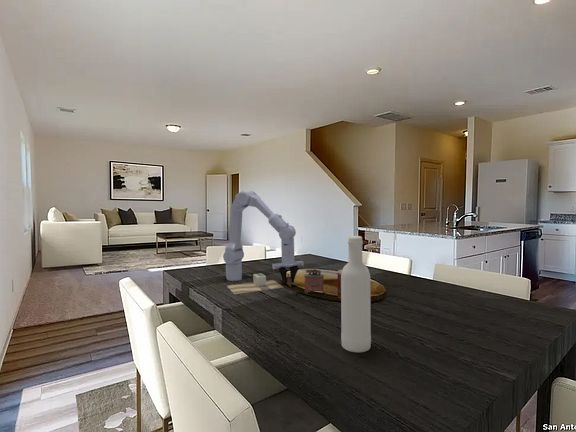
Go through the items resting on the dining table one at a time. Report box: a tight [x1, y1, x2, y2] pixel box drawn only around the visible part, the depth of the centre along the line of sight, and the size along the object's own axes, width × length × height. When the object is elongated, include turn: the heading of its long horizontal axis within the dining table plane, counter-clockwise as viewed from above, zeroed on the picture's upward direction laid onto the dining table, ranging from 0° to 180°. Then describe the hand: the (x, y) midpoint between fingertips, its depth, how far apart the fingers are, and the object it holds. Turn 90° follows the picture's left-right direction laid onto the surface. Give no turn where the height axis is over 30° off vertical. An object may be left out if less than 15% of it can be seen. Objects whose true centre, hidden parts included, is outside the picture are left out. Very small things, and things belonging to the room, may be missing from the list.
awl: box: [285, 273, 293, 287], centre depth 149 cm, size 3×3×6 cm
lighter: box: [304, 268, 325, 294], centre depth 139 cm, size 8×3×10 cm, turn 84°
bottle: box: [340, 235, 372, 353], centre depth 89 cm, size 8×8×30 cm
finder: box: [252, 273, 267, 286], centre depth 149 cm, size 6×4×4 cm, turn 23°
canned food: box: [336, 268, 343, 301], centre depth 130 cm, size 8×8×11 cm
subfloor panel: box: [226, 279, 284, 295], centre depth 146 cm, size 14×22×1 cm, turn 113°
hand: (288, 283), depth 149 cm, fingers closed on awl, 3 cm apart
